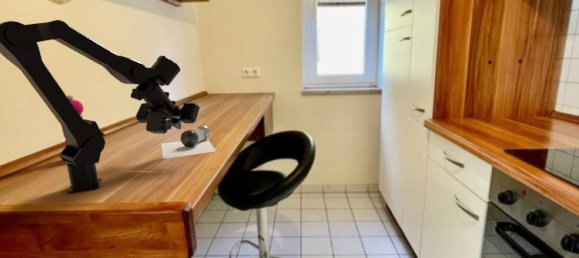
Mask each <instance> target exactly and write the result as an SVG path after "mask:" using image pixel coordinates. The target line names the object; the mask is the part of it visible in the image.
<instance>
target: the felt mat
mask: <svg viewBox="0 0 579 258" xmlns="http://www.w3.org/2000/svg"><path fill="white" fill-rule="evenodd" d="M160 146H161V156H162V160H166V159H172V158H173V159H174V158H179V157H180V158H181V157H188V156H194V155H200V154H208V153H213V152H217V150H216V148H215V147H214V146H213V144H212V143H211V142H210V140H209V138H207V139H205V140H201V141H199V142H198V143H197V144H196V145H194V146H192V147H186V146H184V145H183V144H182V142H181V140H180V141H172V142H166V143H160Z"/></svg>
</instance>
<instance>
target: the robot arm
mask: <svg viewBox="0 0 579 258" xmlns="http://www.w3.org/2000/svg"><path fill="white" fill-rule="evenodd" d="M52 40H53V41H56V42H58V43H59V44H61V45H63V46H65V47H66V48H68V49H70V50H73V52H75V53H78V54H80V55H81V56H83V57H84V58H87V59H89V60H90V61H92V62H93V63H95V64H98V66H101V67H102V68H104V69H105V70H106V71H107V72H108V73H109V75H111V76H112V77H113V78H115V79H116V80H118V81H119V82H120V83H121V84H123V85H137V86H136V87H135V88H132V89H131V92H130V93H131V94H130V98H131V99H133V100H137V101H142V100H143V101H144V102H143V103H141V104H140V106H139V108H138V111H137V112H136V115H135V119H136V120H137V121H138V122H139V123H140V124H146V126H145V130H146V132H148V133H150V134H151V133H152V134H154V135H159V134H160V135H165V134H167V132H168V131H169V130H172V128H175V129H177V130H182V127H183V125H182V123H183V124H194V123H196V121H197V118H198V115H199V112H200V109H201V108H200V106H199V104H198V103H197V102H185V103H183V105H182V106H181V105H179V104H177V102H176V100H171V99H170V93H169V92H168V91H164V90H163V88H162V87H164V86H167V87H169V86H170V85H171V84H172V82H173V81H174V80H175V78H176V77H177V75H179V73H181V68H180V65H178V63H177V62H175V61H173V60H171V59H170V58H167V57H166V55H159V56H158V57H157V59H156V61H155V62H154V63H153V64H152V66H151V67H146V66H145V65H144V64H143V63H142V62H139V61H138V60H135V59H133V58H130V57H126V56H123V55H120V54H117V53H115V52H113V51H112V50H111V49H109V48H107V47H106V46H103V45H102V44H101V43H99V42H97V41H95V40H93V39H92V38H90V37H88V36H87V35H85V34H83V33H82V32H80V31H79V30H76V29H75V28H73V27H72V26H70V25H69V24H68V23H67V22H66V21H63V20H61V19H54V20H51V21H47V22H46V21H45V22H38V23H30V24H24V23H21V22H18V21H14V20H8V21H7V20H6V21H3V22H1V23H0V54H1V55H2V56H3V57H4V58H5V59H6V61H7V60H8V61H9V62H10V63H11V64H13V66H15V67H16V68H17V69H19V71H20V72H21V73H22V74H23V75H24V77H25V78H26V79H27V81H28V82H29V84H30V85H31V87H32V88H33V89H34V90H35V92H36V93H37V95H39V97H40V99H42V102H43V103H45V105H46V107H48V110H49V111H50V112H51V113H52V115H53V116H54V117H55V118H56V120H57V121H58V122H59V124H60V126H61V128H62V129H61V130H62V133H63V137H64V139H65V140H66V141H67V143H68V144H67V145H66V147H65V146H64V148H63V149H62V150H61V152H60V153H59V155H58V156H59V158H60V159H61V161H62V162H63V163H66V167H67V173H68V177H69V182H70V183H69V184H70V186H69V187H68V189H67V190H66V193H67V194H71V193H78V192H83V191H89V190H95V189H96V190H97V189H99V188H100V185H101V183H102V181H103V179H102V178H101V177H100V178H99V177H98V171H97V170H98V169H97V166H96V164H98V163H99V162H100V158H101V153H102V152H103V150H104V149H105V146H106V139H105V138H104V136H106V134H105V133H104V132H103V131H102V130H101V129H100V126H99V125H98V123H97V121H95V120H90V119H84V117H83V118H82V117H81V116H80V115H79V113H78V112H77V110H76V109H75V108H74V106H73V105H72V103H71V102H70V100H69V99H68V98H67V96H68V95H66V93H65V91H64V90H63V89H62V88H61V86H60V85H59V83H58V82H57V80H56V79H55V77H54V76H53V74H52V72H50V70H49V68H48V67H47V66H46V64H45V63H44V61H43V59H42V55H41V51H40V47H39V44H38V43H40V42H47V41H52ZM176 104H177V105H176Z"/></svg>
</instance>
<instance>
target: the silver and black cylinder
mask: <svg viewBox="0 0 579 258" xmlns="http://www.w3.org/2000/svg"><path fill="white" fill-rule="evenodd" d="M210 136H211V129H210V127H208V126H207V125H205V124H204V125H203V124H202V125H200V126H198V127H196V128H195V129H187V130H185V131H183V132H182V133H181V134H180V141H181V142H182V144H183V145H184V146H186V147H192V146H194V145H196V144H197V143H198V142H199V141H201V140H205V139H209V138H210Z"/></svg>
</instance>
